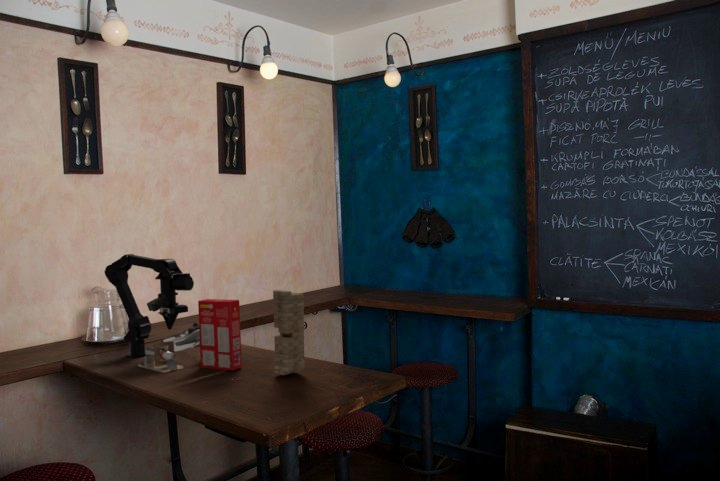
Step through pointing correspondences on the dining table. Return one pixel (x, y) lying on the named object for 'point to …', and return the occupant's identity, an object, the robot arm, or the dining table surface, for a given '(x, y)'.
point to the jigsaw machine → (184, 338)
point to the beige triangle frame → (157, 352)
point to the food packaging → (220, 334)
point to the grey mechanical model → (164, 355)
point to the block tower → (288, 331)
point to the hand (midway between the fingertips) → (169, 329)
